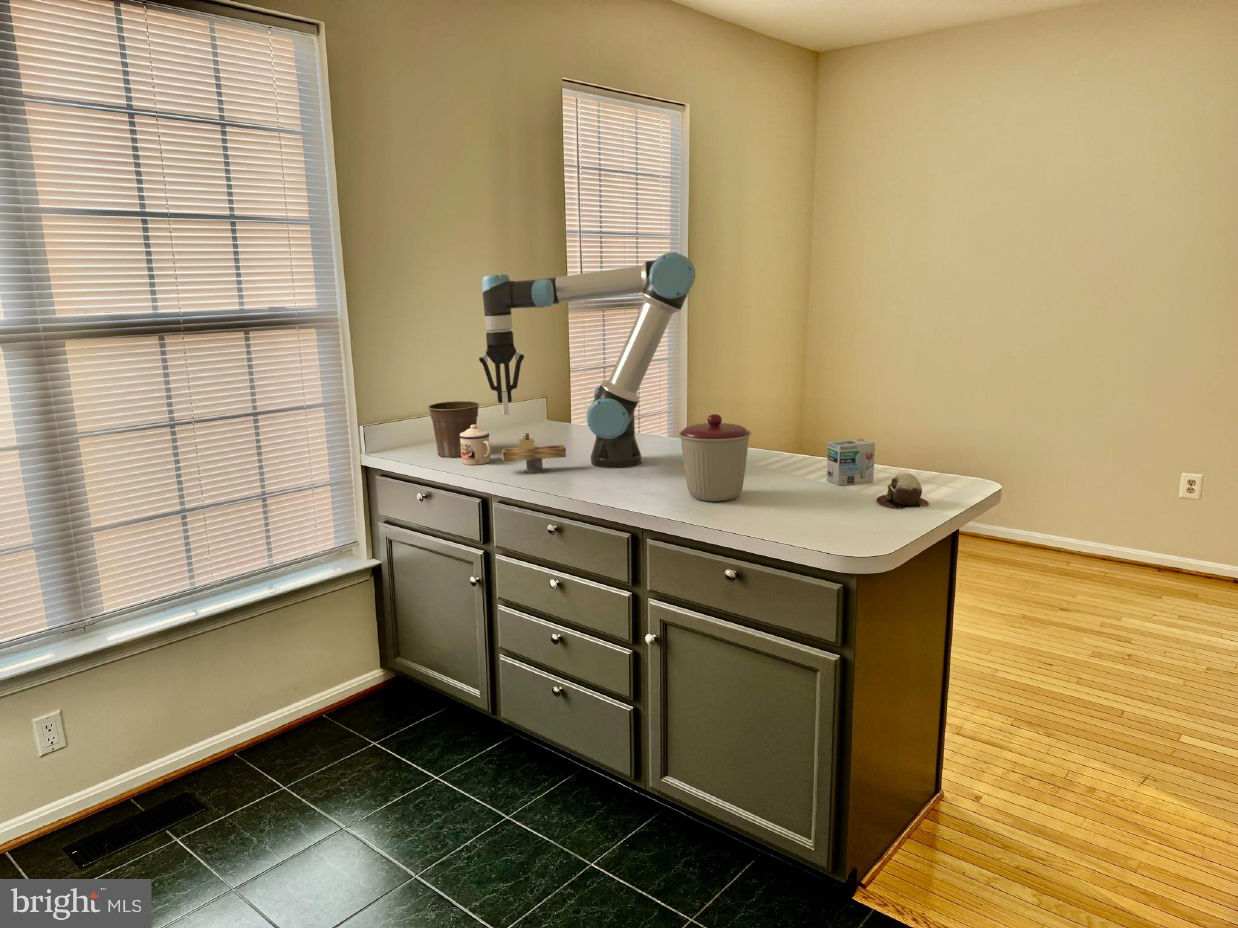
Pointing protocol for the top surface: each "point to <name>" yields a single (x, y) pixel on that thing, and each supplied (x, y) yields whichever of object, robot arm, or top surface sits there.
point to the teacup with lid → (475, 446)
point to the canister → (714, 459)
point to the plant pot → (452, 424)
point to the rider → (526, 442)
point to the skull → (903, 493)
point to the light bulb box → (850, 462)
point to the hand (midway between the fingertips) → (505, 414)
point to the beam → (534, 456)
